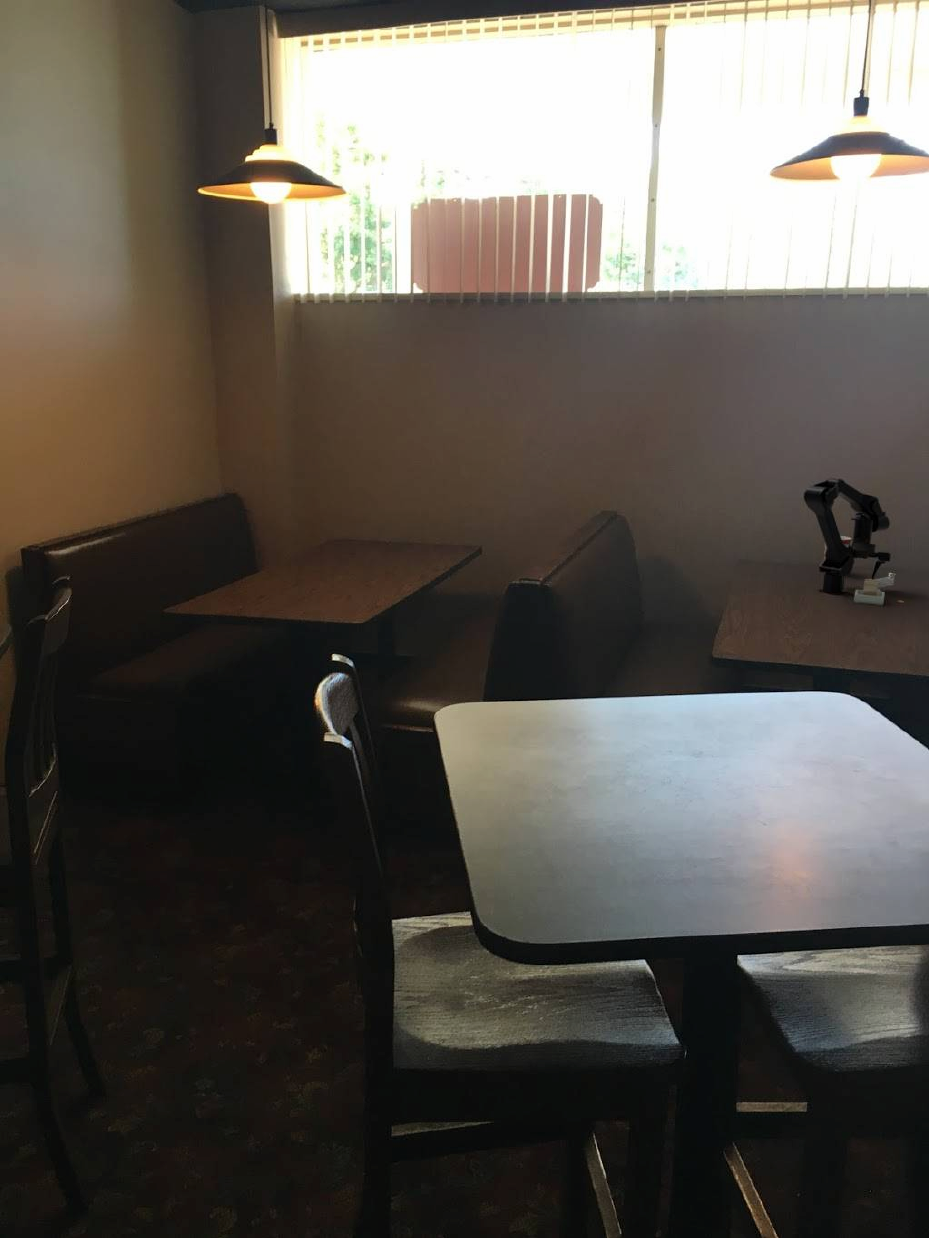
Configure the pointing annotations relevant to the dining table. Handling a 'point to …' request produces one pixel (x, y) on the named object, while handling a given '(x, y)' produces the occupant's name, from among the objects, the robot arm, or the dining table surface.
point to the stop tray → (869, 598)
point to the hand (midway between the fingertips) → (857, 579)
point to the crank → (886, 580)
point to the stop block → (870, 587)
